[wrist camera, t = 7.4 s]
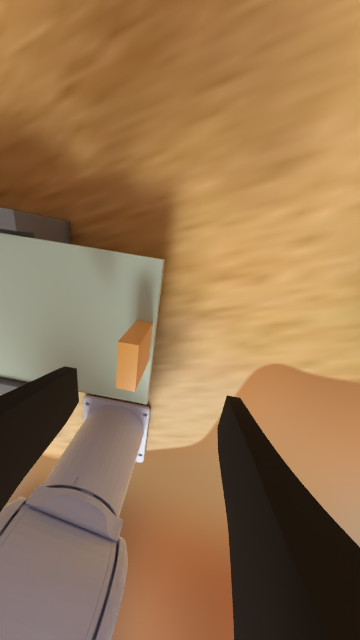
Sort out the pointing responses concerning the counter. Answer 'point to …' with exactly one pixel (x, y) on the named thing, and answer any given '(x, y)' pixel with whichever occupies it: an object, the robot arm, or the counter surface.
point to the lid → (79, 315)
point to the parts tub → (34, 228)
